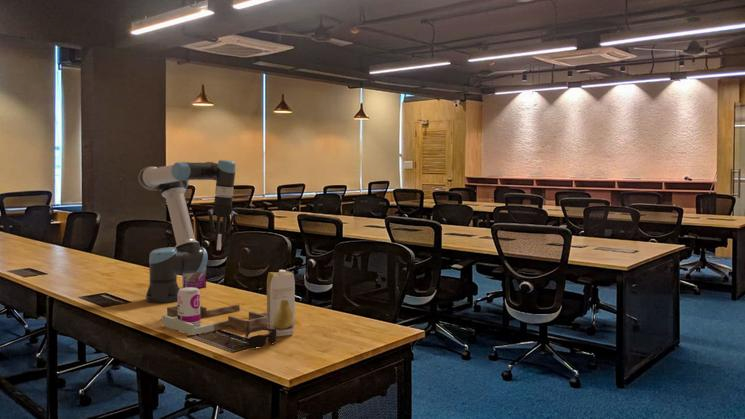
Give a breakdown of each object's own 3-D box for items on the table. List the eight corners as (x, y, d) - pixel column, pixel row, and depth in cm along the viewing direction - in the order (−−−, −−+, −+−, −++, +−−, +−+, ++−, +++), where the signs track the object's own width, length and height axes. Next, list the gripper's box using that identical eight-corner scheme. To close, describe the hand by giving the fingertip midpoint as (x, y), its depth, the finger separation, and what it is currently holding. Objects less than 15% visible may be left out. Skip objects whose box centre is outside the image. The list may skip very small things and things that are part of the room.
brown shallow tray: (223, 306, 265) (223, 297, 265) (285, 322, 239) (285, 312, 238) (167, 317, 245) (167, 307, 245) (227, 337, 218) (227, 326, 218)
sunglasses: (253, 352, 202) (253, 337, 202) (221, 343, 211) (221, 329, 211) (281, 342, 214) (281, 328, 213) (250, 335, 222) (250, 321, 222)
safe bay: (183, 321, 239) (183, 311, 239) (213, 331, 226) (213, 320, 225) (162, 325, 232) (162, 315, 232) (192, 336, 219) (192, 325, 218)
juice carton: (271, 338, 217) (272, 272, 216) (265, 332, 224) (265, 268, 223) (296, 335, 222) (296, 270, 220) (289, 329, 229) (289, 267, 227)
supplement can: (204, 326, 232) (204, 288, 230) (189, 331, 224) (189, 292, 223) (188, 324, 235) (188, 285, 234) (173, 329, 228) (172, 289, 227)
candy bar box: (183, 289, 300) (183, 256, 298) (182, 287, 304) (181, 255, 303) (206, 287, 304) (206, 255, 303) (204, 285, 309) (204, 254, 308)
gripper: (207, 195, 257) (202, 249, 260) (238, 198, 259) (233, 252, 262) (209, 193, 265) (204, 246, 267) (239, 196, 267) (234, 249, 269)
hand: (218, 249), depth 264 cm, fingers closed
